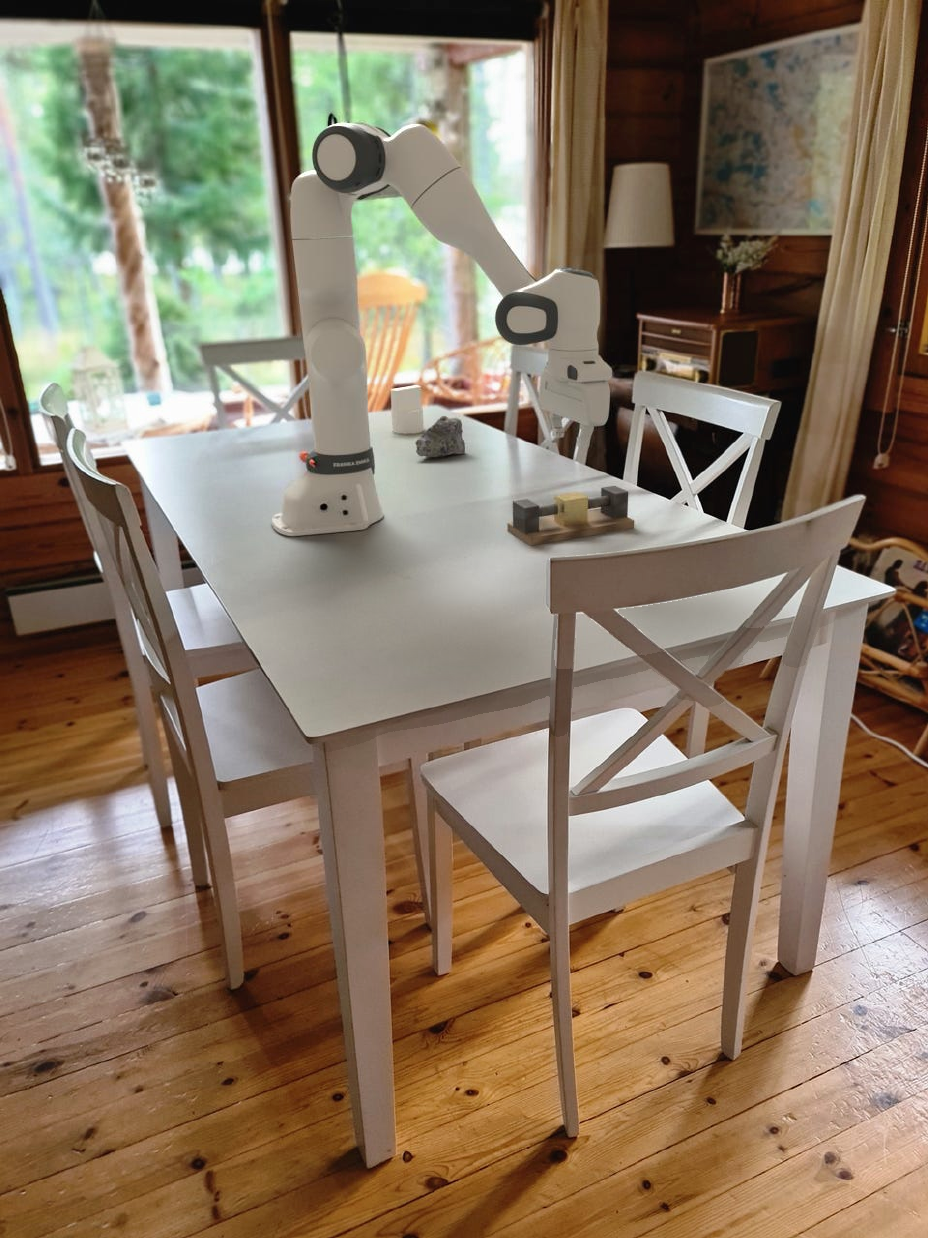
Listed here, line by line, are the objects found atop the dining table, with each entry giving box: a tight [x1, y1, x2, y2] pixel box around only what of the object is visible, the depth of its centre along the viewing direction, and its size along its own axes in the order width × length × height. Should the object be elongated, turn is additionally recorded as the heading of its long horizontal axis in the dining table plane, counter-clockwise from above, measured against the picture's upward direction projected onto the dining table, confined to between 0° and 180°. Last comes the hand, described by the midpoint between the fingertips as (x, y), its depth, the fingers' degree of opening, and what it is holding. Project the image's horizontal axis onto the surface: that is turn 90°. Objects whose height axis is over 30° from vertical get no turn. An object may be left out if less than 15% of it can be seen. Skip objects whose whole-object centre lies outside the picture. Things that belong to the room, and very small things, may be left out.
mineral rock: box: [414, 415, 466, 458], centre depth 233 cm, size 13×11×10 cm
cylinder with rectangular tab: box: [390, 384, 425, 434], centre depth 262 cm, size 9×9×12 cm
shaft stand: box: [507, 485, 635, 547], centre depth 176 cm, size 22×10×6 cm, turn 113°
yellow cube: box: [553, 491, 589, 526], centre depth 175 cm, size 5×4×5 cm
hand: (570, 441), depth 170 cm, fingers open, 8 cm apart
